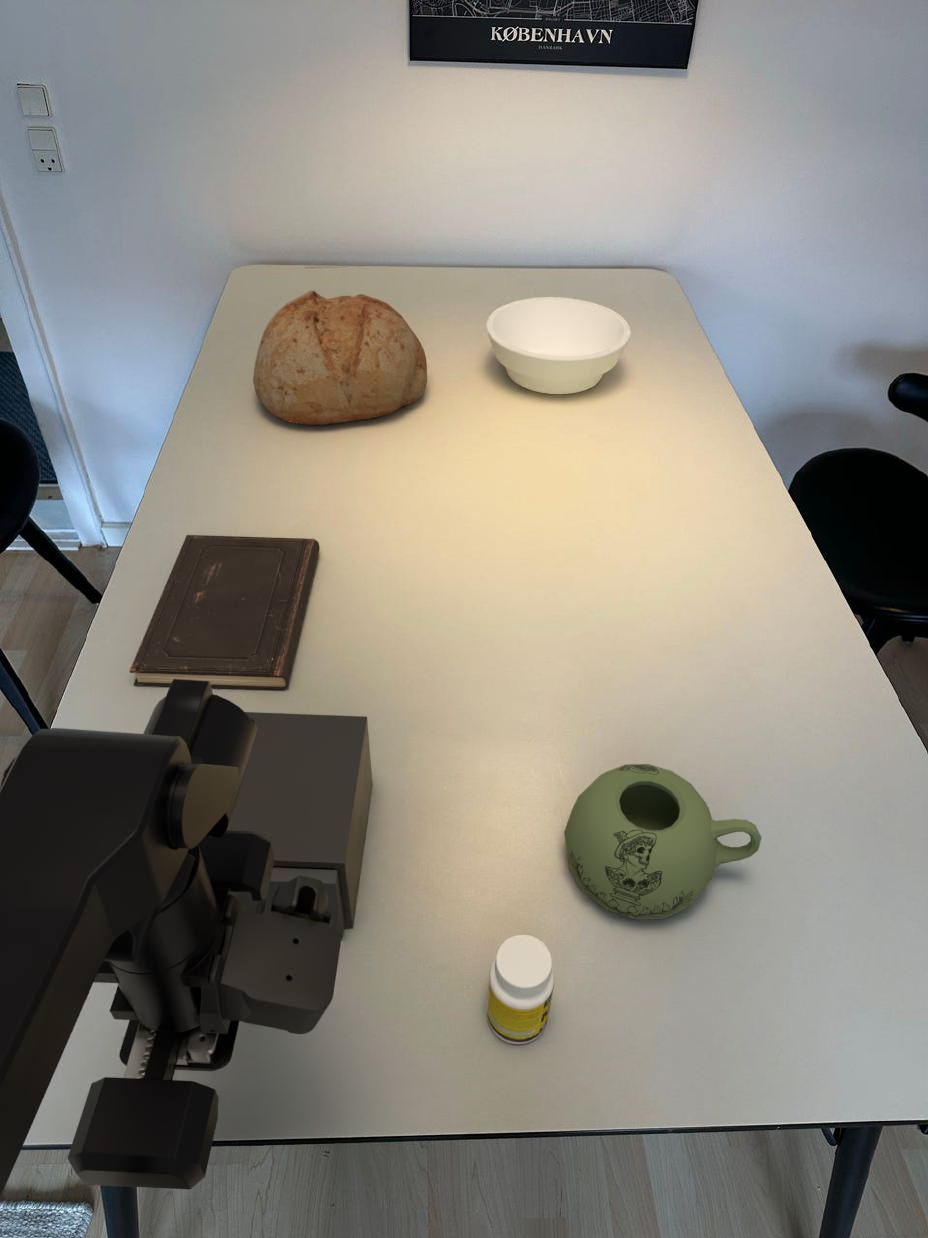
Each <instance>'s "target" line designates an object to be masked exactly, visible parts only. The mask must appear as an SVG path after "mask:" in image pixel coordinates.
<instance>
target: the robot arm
mask: <svg viewBox="0 0 928 1238" xmlns="http://www.w3.org/2000/svg"><path fill="white" fill-rule="evenodd" d="M245 712H246V711H244V709H242V708H241V707H240V706H238V705H237V704H235V703H234V702H232V701H230V700H229V699H226V698H224V697H222V696H220V695H217V694H214V692H213V688H211V684H210V681H199V680H184V679H173V681H172V683H171V686H170V687H169V688H168V691H167V693H166V696H164V697H163V698H161V699H160V700H159V701H157V703H156V705H155V706H154V707H153V711H152V713H151V715H150V717H149V719H148V722H147V724H146V727H145V729H144V731H143V733H135V732H123V731H121V732H120V731H107V730H106V731H105V730H94V729H93V730H92V729H78V728H76V729H75V728H65V727H62V728H61V727H51V728H41V729H39V730H38V731H37V732H35V733H34V734H32V735H31V736H30V737H29V738H28V740H27V741H25V743H24V744H23V745H22V747H21V748H20V750H19V751H18V753H17V755H16V756H15V757H14V758H12V760H11V762H10V763H9V764H8V766H7V767H6V768H5V770H4V772H3V774H2V775H3V776H2V778H1V783H0V1198H1V1197H2V1195H3V1193H4V1190H5V1188H6V1185H7V1183H8V1181H9V1179H10V1176H11V1174H12V1172H13V1170H14V1167H15V1165H16V1163H17V1160H18V1158H19V1156H20V1153H21V1151H22V1149H23V1146H24V1144H25V1142H26V1140H27V1137H28V1135H29V1133H30V1130H31V1129H32V1126H33V1123H34V1121H35V1118H36V1116H37V1115H38V1112H39V1110H40V1107H41V1105H42V1102H43V1100H44V1098H45V1095H46V1094H47V1091H48V1088H49V1086H50V1084H51V1082H52V1079H53V1077H54V1074H55V1073H56V1070H57V1068H58V1065H59V1063H60V1061H61V1059H62V1056H63V1053H64V1052H65V1050H66V1048H67V1045H68V1042H69V1040H70V1038H71V1035H72V1033H73V1031H74V1029H75V1026H76V1024H77V1022H78V1019H79V1017H80V1014H81V1012H82V1010H83V1007H84V1005H85V1003H86V1001H87V999H88V997H89V994H90V991H91V989H92V987H93V984H94V983H97V984H98V983H99V984H101V983H102V984H117V988H116V991H115V993H114V996H113V999H112V1002H111V1006H110V1009H109V1012H110V1014H111V1016H112V1017H113V1020H119V1021H120V1020H123V1021H128V1024H127V1027H126V1030H125V1033H124V1036H123V1040H122V1044H121V1046H120V1049H119V1054H118V1055H119V1059H120V1061H121V1063H122V1064H123V1065H124V1066H125V1070H124V1073H123V1076H122V1077H111V1076H104V1077H102V1078H100V1079H97V1080H96V1081H94V1082H92V1083H91V1085H90V1086H89V1091H88V1093H87V1097H86V1100H85V1103H84V1105H83V1108H82V1111H81V1115H80V1118H79V1121H78V1124H77V1126H76V1130H75V1133H74V1137H73V1139H72V1143H71V1146H70V1149H69V1152H68V1155H67V1160H68V1162H69V1164H70V1165H71V1167H72V1169H73V1171H74V1172H75V1174H76V1175H77V1177H78V1178H79V1179H80V1180H81V1181H82V1183H83V1184H84V1185H86V1186H106V1187H107V1186H108V1187H130V1188H150V1189H151V1188H152V1189H172V1190H174V1189H175V1190H192V1189H193V1188H194V1187H195V1186H197V1185H198V1184H199V1183H200V1182H201V1181H202V1180H203V1179H205V1178H206V1174H207V1171H208V1170H207V1169H208V1165H209V1161H210V1155H211V1151H212V1147H213V1142H214V1137H215V1133H216V1128H217V1125H218V1120H219V1119H218V1118H219V1101H220V1100H219V1094H218V1092H217V1090H216V1088H215V1087H214V1088H213V1087H210V1086H209V1085H206V1084H202V1083H200V1082H198V1081H194V1080H179V1079H174V1077H175V1072H176V1071H189V1072H194V1071H195V1072H216V1071H219V1070H221V1069H223V1068H226V1066H228V1065H229V1064H230V1062H231V1060H232V1057H233V1053H234V1048H235V1044H236V1039H237V1035H238V1030H239V1025H240V1022H242V1023H245V1024H250V1025H255V1026H256V1025H257V1026H261V1027H266V1028H271V1029H276V1030H281V1031H286V1032H287V1033H289V1034H293V1035H306V1034H308V1033H310V1032H312V1031H313V1030H314V1029H315V1027H316V1026H317V1024H318V1023H319V1022H320V1020H321V1018H323V1017H322V1016H323V1015H324V1014H325V1012H326V1010H327V1009H328V1008H329V1006H330V1004H331V1003H332V1001H333V999H334V998H333V997H334V992H335V985H336V979H337V974H338V973H337V972H338V966H339V965H338V964H339V958H340V950H341V944H342V941H341V940H342V939H341V936H340V935H339V933H338V931H337V923H338V917H337V916H338V914H336V913H329V911H328V909H327V903H328V895H327V893H326V890H325V888H324V885H323V882H322V881H321V880H318V879H314V878H310V877H305V876H301V875H300V876H298V877H296V878H294V879H292V880H290V881H288V882H286V883H284V884H282V885H281V886H279V887H278V888H277V890H276V892H275V895H274V897H273V899H269V898H266V897H267V892H268V888H269V883H270V879H271V874H272V870H273V865H274V861H275V859H274V854H273V850H272V845H271V843H270V842H269V841H268V840H267V839H266V838H265V837H263V836H261V835H259V834H258V833H256V832H254V831H234V830H227V828H228V825H229V822H230V819H231V816H232V812H233V809H234V806H235V803H236V800H237V797H238V794H239V790H240V787H241V784H242V781H243V778H244V775H245V772H246V768H247V765H248V762H249V759H250V756H251V753H252V750H253V746H254V743H255V740H256V737H257V727H256V723H255V721H254V720H253V719H250V717H249V716H248V714H246V713H245ZM231 892H250V893H251V897H252V901H258V904H257V908H256V913H246V910H245V908H244V907H243V906H242V905H241V904H240V903H239V901H238V897H237V895H236V894H231ZM265 898H266V899H265Z"/></svg>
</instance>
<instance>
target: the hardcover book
mask: <svg viewBox="0 0 928 1238" xmlns="http://www.w3.org/2000/svg"><path fill="white" fill-rule="evenodd" d="M320 549H321V547H320V543H319V541H318V540H316V539H315V538H296V537H270V536H269V537H268V536H240V535H239V536H236V535H235V536H234V535H233V536H232V535H206V534H205V535H204V534H203V535H202V534H201V535H200V534H186V535H185V537H184V540H183V543H182V545H181V547H180V550H179V552H178V555H177V557H176V559H175V562H174V564H173V566H172V568H171V571H170V574H169V576H168V578H167V580H166V583H165V585H164V588H163V590H162V593H161V594H160V597H159V599H158V602H157V605H156V606H155V609H154V611H153V614H152V617H151V618H150V621H149V624H148V625H147V628H146V630H145V633H144V635H143V637H142V641H141V642H140V645H139V647H138V650H137V652H136V653H135V657H134V658H133V661H132V664H131V666H130V668H129V673H130V674H135V680H134V682H133V686H137V687H138V686H139V687H164V688H165V687H169V688H170V686H171V683H172V681H173V679H184V680H199V681H210V684H211V688H212V689H226V690H227V689H228V690H230V689H231V690H259V691H260V690H261V691H263V690H264V691H285V690H286V689H287V688H288V687H289V682H290V677H291V673H292V669H293V665H294V661H295V657H296V651H297V647H298V644H299V639H300V635H301V630H302V626H303V622H304V618H305V615H306V610H307V605H308V602H309V596H310V592H311V589H312V584H313V580H314V576H315V572H316V568H317V562H318V558H319V555H320Z"/></svg>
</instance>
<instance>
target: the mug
mask: <svg viewBox="0 0 928 1238" xmlns="http://www.w3.org/2000/svg"><path fill="white" fill-rule="evenodd" d="M563 833H564V841H565V847H566V853H567V854H566V855H567V861H568V868H569V871H570V873H571V874H572V876H573V877H574V879H575V881H576V882H577V884H578V886H579V887H580V889H581V890H582V892H583V893H584V894H585V895H586V896H588V897H589V898H590V899H592V900H593V901H595V902H596V903H597V904H598V905H600V906H601V907H602V908H603V909H605V910H606V911H609V912H611V913H615V914H618V915H621V916H623V917H627V918H630V919H633V920H663V919H667V918H669V917H671V916H673V915H675V914H678V913H681V912H682V911H685V910H688V909H689V907H690V906H691V905H692V904H693V903H694V902H695V900H696V899H697V898H698V897H699V896H700V895H701V893H702V892H703V891H704V889H705V888H706V887H707V886H708V885H709V883H710V882H711V881H712V880H713V877H714V872H715V869H716V868H717V867H719V866H720V865H722V864H728V863H732V862H737V861H741V860H745V859H748V858H751V857H752V856H753V855H754V854H756V853H757V852H758V851H759V850H760V845H761V842H762V835H761V833H760V831H759V829H758V827H757V824H755V823H753V822H751V821H749V820H747V819H741V818H730V819H724V820H723V819H722V820H721V819H720V820H714V819H713V817H712V815H711V811H710V807H709V806H708V805H707V802H706V800H705V799H704V798H703V797H702V796H701V794H700V792H698V790H697V789H696V788H695V787H694V785H693V784H692V783H691V782H690V781H688V780H686V779H685V778H683V777H682V776H680V775H678V774H677V773H675V772H674V771H673V770H670V769H666V768H663V767H661V766H656V765H653V764H649V763H635V764H634V763H633V764H624V765H621V766H618V767H615V768H612V769H610V770H607V771H605V772H603V773H601V774H600V775H598V777H597V778H595V780H593V781H592V782H591V784H590V785H588V786H587V787H586V788H585V790H583V791H582V792H581V793H580V794H579V795H578V796H577V798H576V800H575V802H574V805H573V807H572V808H571V810H570V814H569V816H568V819H567V821H566V825H565V828H564V831H563ZM733 833H745V834H747V835H748V836H749V837H750V841H748V843H747V844H744V845H741V846H728V845H725V844H722V843H721V842H720V841H719V840H718V838H720V837H723V836H726V835H729V834H733Z"/></svg>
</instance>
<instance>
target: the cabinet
mask: <svg viewBox="0 0 928 1238" xmlns="http://www.w3.org/2000/svg"><path fill="white" fill-rule="evenodd" d="M244 712H245V713H246V714H248V716H249V717H250V719H253V720H254V721H255V723H256V727H257V737H256V740H255V743H254V746H253V750H252V753H251V756H250V759H249V762H248V765H247V768H246V772H245V775H244V778H243V781H242V784H241V787H240V790H239V794H238V797H237V800H236V803H235V806H234V809H233V812H232V816H231V819H230V822H229V825H228V828H227V830H234V831H254V832H256V833H258V834H259V835H261V836H263V837H265V838H266V839H267V840H268V841H269V842H270V843H271V845H272V850H273V854H274V859H275V861H274V865H273V866H289V867H313V868H335V870H338V877H339V884H340V891H341V898H342V906H343V913H344V920H345V926H344V929H353V928H354V924H355V917H356V911H357V902H358V895H359V888H360V881H361V873H362V867H363V866H362V865H363V859H364V852H365V844H366V837H367V828H368V822H369V815H370V806H371V800H372V792H373V786H374V785H373V784H374V783H373V771H372V760H371V759H372V758H371V748H370V747H371V745H370V735H369V724H368V716H362V715H361V716H359V715H358V716H357V715H337V714H312V713H311V714H309V713H308V714H307V713H281V712H258V711H257V712H256V711H244Z"/></svg>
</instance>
